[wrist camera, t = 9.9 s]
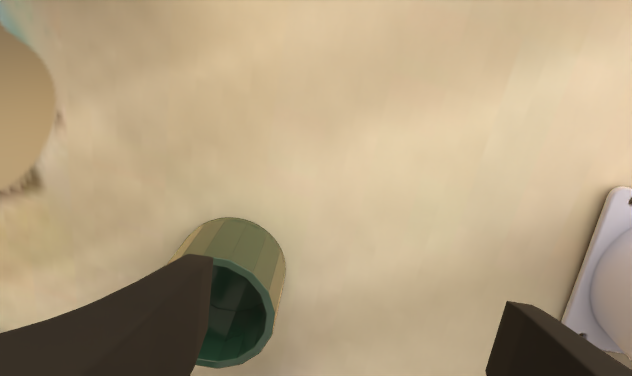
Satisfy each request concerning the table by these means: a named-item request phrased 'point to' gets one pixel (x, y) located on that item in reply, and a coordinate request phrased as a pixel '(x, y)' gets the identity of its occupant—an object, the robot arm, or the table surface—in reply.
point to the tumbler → (238, 288)
